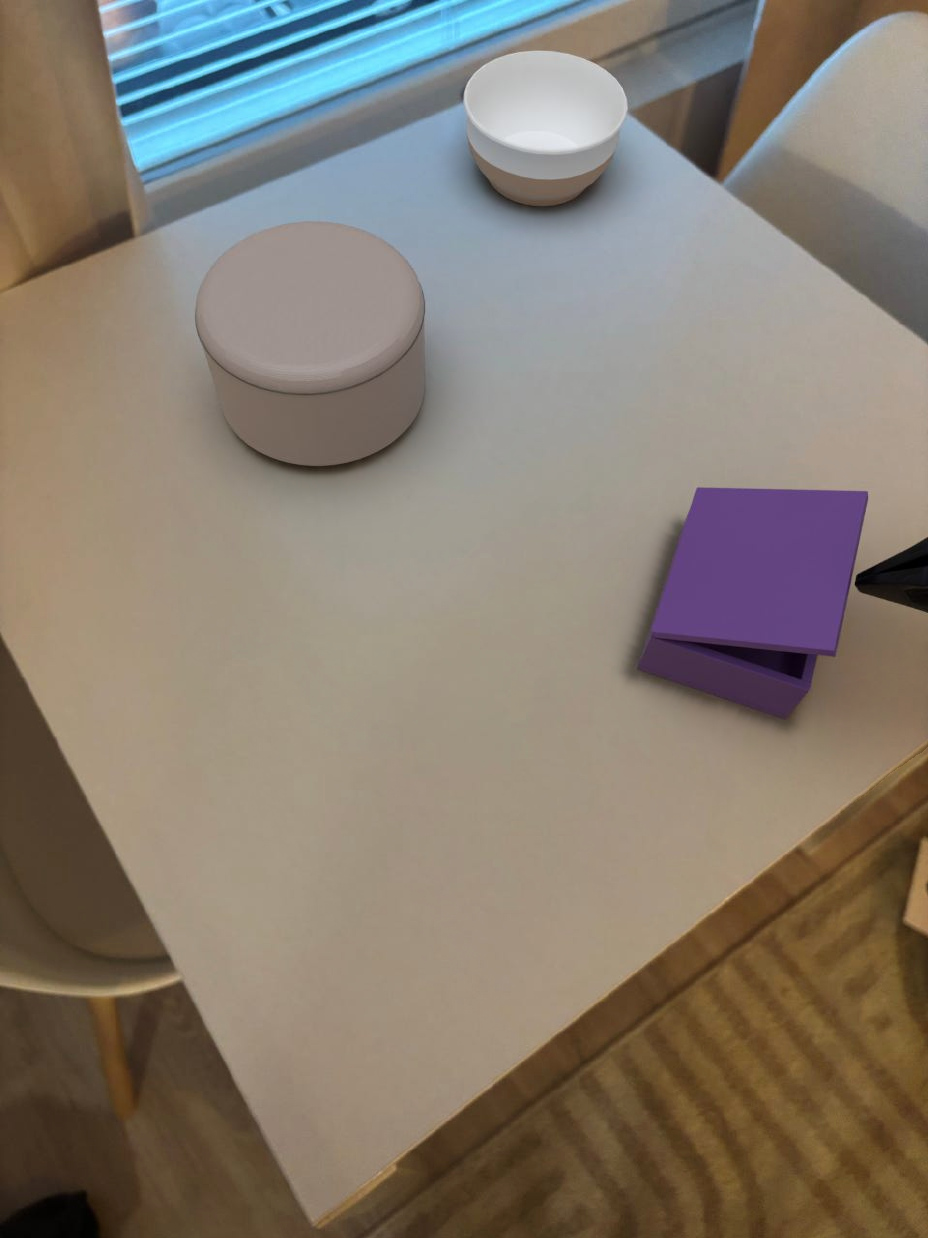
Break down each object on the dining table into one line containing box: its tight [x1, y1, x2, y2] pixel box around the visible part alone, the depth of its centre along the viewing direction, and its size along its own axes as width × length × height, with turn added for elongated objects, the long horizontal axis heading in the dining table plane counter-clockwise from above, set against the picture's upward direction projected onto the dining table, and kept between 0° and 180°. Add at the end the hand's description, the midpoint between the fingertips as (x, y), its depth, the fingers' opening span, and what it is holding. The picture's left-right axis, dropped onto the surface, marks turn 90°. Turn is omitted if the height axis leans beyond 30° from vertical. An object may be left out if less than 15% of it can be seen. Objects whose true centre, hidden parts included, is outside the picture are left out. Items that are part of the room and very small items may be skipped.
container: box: [194, 221, 426, 467], centre depth 78 cm, size 18×18×12 cm
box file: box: [636, 509, 818, 720], centre depth 71 cm, size 11×13×5 cm
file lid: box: [651, 486, 869, 658], centre depth 66 cm, size 12×13×1 cm
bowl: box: [462, 50, 629, 207], centre depth 95 cm, size 16×16×8 cm
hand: (857, 583), depth 64 cm, fingers closed
